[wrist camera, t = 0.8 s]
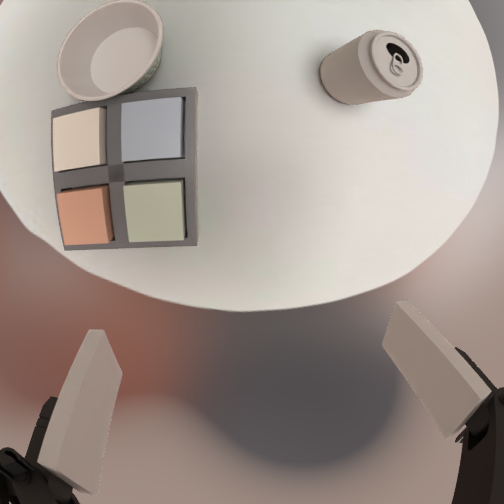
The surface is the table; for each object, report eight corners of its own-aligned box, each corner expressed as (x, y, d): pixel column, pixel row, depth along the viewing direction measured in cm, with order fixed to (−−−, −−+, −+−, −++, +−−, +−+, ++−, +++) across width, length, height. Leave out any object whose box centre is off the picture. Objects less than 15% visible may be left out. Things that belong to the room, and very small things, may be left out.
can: (373, 68, 27) (432, 52, 16) (362, 114, 30) (423, 110, 19) (324, 44, 25) (373, 11, 14) (311, 91, 28) (360, 72, 17)
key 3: (129, 106, 23) (121, 103, 21) (183, 100, 24) (181, 97, 22) (129, 159, 26) (121, 161, 23) (183, 155, 26) (180, 156, 24)
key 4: (63, 119, 22) (53, 118, 20) (108, 109, 23) (99, 107, 21) (64, 168, 24) (54, 171, 22) (108, 162, 25) (99, 164, 23)
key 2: (66, 189, 25) (56, 194, 23) (109, 184, 26) (101, 188, 24) (73, 237, 28) (64, 245, 25) (115, 235, 28) (108, 243, 26)
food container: (135, 121, 27) (115, 119, 21) (67, 85, 23) (39, 80, 17) (193, 39, 23) (188, 19, 17) (120, 9, 19) (102, -11, 13)
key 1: (130, 182, 26) (123, 186, 24) (183, 178, 27) (180, 182, 25) (135, 234, 29) (129, 242, 27) (185, 232, 30) (183, 240, 27)
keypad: (67, 112, 24) (51, 110, 20) (197, 94, 26) (195, 87, 23) (77, 239, 31) (64, 250, 27) (198, 233, 33) (196, 245, 29)
